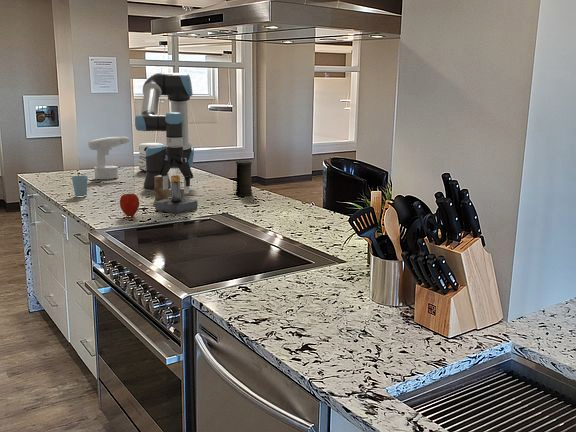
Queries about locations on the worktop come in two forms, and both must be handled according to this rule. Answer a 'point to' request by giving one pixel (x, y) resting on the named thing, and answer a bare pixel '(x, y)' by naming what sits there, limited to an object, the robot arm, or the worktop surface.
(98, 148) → the power drill
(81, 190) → the cup
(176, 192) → the round bit
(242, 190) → the container
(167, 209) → the holder plate
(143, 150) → the milk container
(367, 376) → the worktop surface
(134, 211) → the apple
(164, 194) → the square bit
